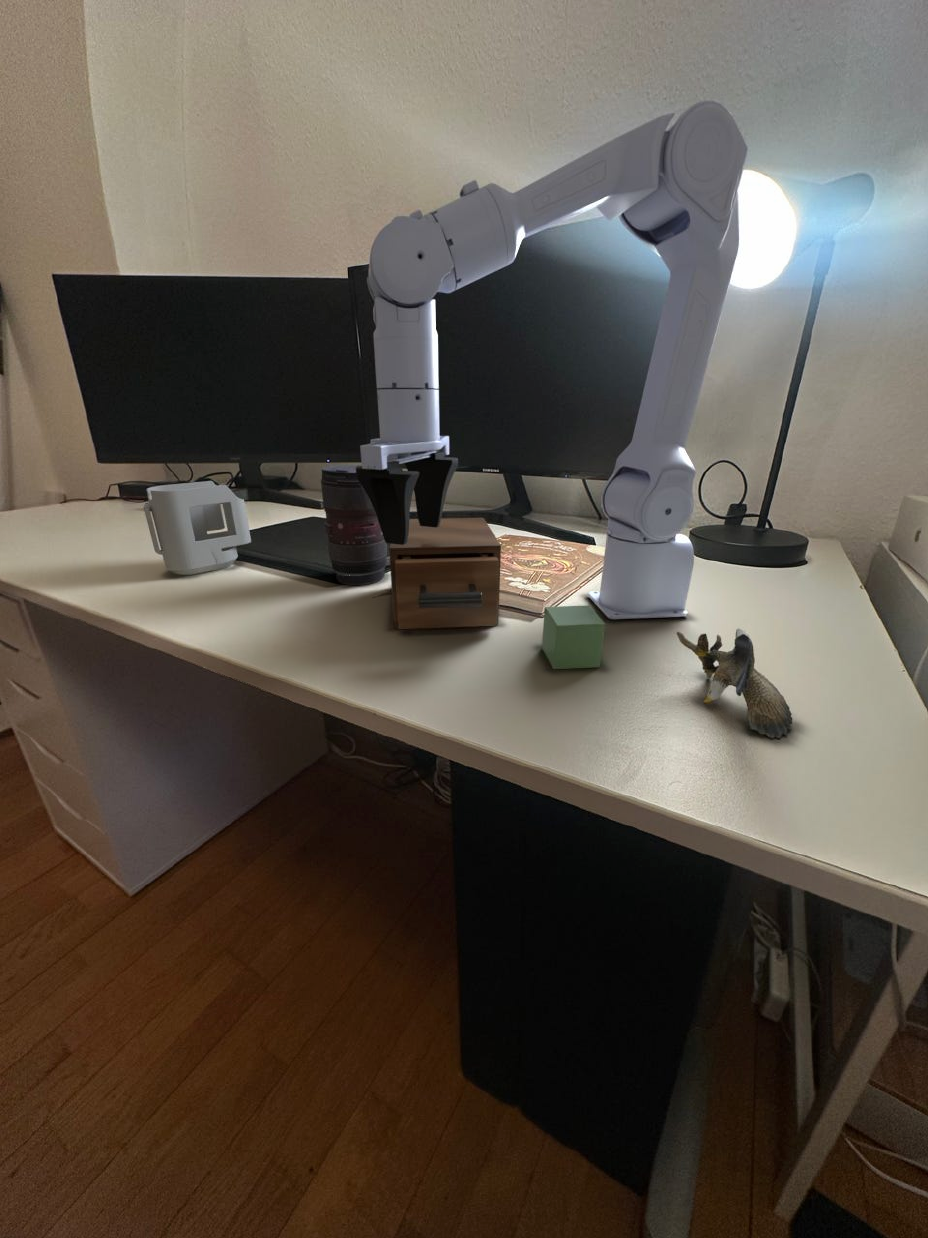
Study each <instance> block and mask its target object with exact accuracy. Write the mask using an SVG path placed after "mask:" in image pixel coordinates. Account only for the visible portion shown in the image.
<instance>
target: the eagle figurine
mask: <svg viewBox="0 0 928 1238" xmlns="http://www.w3.org/2000/svg"><path fill="white" fill-rule="evenodd" d="M676 635H677V638H678V640H679V642H680V643H681V644H682V645H683V646H684V647H686V648H687V649H689V650H691V651H692V652H693V653H694V654H695V655H696V656H697V658H698V659H699V661H700V662H701V665H702V670H703V671H704V672H703V673H704V674H705V675H706V678H708V679H711V678H712V681H711V684H710V686H709V689H708V693H707V696H706V698H705V699H703V703H705V704H709V703H710V702H711V701H714V700H717V699H719V698H720V697H721V696H722V694H723V693H724V691H725V689H727V688H728V687H729V686H732V687H735V693H736V695H737V696H738V697H742V695H743V698H744V700H745V703H746V706H747V717H748V718H747V719H748V724H749V728H750V729H751V730H755V731H757V733H758V734H759V735H766V736H767V737H769V738H770V739H774V738H777V739H780V738H782V736H783V735H787V734H788V730H791V728H792V727H791V725H793V717H792V716H793V714H792V712H791V710H790V706H789V705H788V704H787V701H786V699H785V697H784V696H783V695H782V693H781V692H780V691H779V690H778V688H777V687H776V686H775V685H774V684H773V683H772V682H771V681H770V680H769V679H768V678H766V677H765V675H764V674H762V673H761V672H759V671H758V670H757V669H756V668H755V664H756V663H755V652H754V651H755V649H754V645H753V641H752V638H750V635H749V634H748V633H747V631H745V630H744V629H742V628H740V627H738V628H736V630H735V638H734V646H733V649H732V650H729V651H724V650H720V649H721V648H722V647H723V642H722V637H721V635H719V634H717V635H716V640H715V643H714V644H712V646H711V647H710V645H709V639H708V635H707V633H701V634H700V635H699V636H698V638H697V643H696V644H695V643H693V642H692V641H690V640H689V639H688V638H687V637H685V635H684V634H683V633H682V632H681V631H676ZM709 647H710V648H709ZM716 662H717V663H718V665H716V666H715V664H714V663H716Z"/></svg>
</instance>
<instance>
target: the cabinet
mask: <svg viewBox="0 0 928 1238" xmlns="http://www.w3.org/2000/svg"><path fill="white" fill-rule="evenodd" d="M388 550H389V569H390V584H391V600H392V616H393V618H392V619H393V628H394V629H399V626H398V608H397V591H396V573H395V560H398V559H403V555H428V554H468V553H487V554H488V557H497V559H498V592H497V623H496V626H498V625H499V621H500V620H499V619H500V618H499V617H500V591H501V590H500V589H501V560H502V559H501V557H502V545H501V544H500V541H499V540H498V538H497V536H496V535H495V533H494V532H493V530H492V528H491V527H490V525H489V524H488V522H487V521H486V519H485V517H448V518H447V517H445V518H443V517H441V521H440V524H439V527H437V528H436V527H426V526H420V524H419V520H418V518H409V534H408V539H407V543H406V544H404V545H399V544H391V543H389V548H388Z"/></svg>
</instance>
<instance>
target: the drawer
mask: <svg viewBox="0 0 928 1238" xmlns="http://www.w3.org/2000/svg"><path fill="white" fill-rule="evenodd" d="M395 573H396V591H397V608H398V626H399V628H398V630H415V629H416V630H417V629H442V628H465V627H467V628H469V627H492V626H493V627H494V626H497V625H496V623H497V592H498V559H497V557H488V554H487V553H468V554H428V555H403V559H398V560H395Z"/></svg>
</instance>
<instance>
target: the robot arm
mask: <svg viewBox="0 0 928 1238" xmlns="http://www.w3.org/2000/svg"><path fill="white" fill-rule="evenodd" d="M675 115H676V112H671V113H667V114H663V115H660V116H658V117H655V118H654V119H652V120H650V121H648V122H644V123H643V124H641V125H639V126H637V127H635V128H633V129H631V130H628V131H627V132H625V133H623V134H621V135H619V136H617V137H614V138H613V139H611V140H609V141H607V142H605V143H603V144H602V145H600V146H598V147H596V148H593V150H591V151H589V152H587V153H585V154H583V155H581V156H579V157H578V158H576V159H574V160H572V161H570V162H568V163H567V164H565V165H563V166H561V167H559V168H557V169H556V170H553V171H552V172H550V173H548V174H546V175H544V176H542V177H540V178H539V179H537V180H535V181H533V182H532V183H529V184H527V185H526V186H524V187H522V188H520V189H518V190H517V191H515V192H511V191H509V190H507V189H506V188H504V187H502V186H500V185H499V184H496V183H494V182H490V183H488V184H485V185H483V186H482V187H479V185H478V180H476V179H474V180H471V181H469V182H467V183H465V184H464V185H463V186H462V187H461V189H460V190H459V198H457V199H454V200H453V201H450V202H448V203H446V204H444V205H442V206H440V207H438V208H435V209H434V210H432V211H430V212H427V213H424V214H423V212H422V210H421V209H417V210H415V211H413V212H410V214H409V216H408V215H397V216H394V217H393V219H392V220H391V221H390V222H389V223H388V224H386V225H385V226H384V227H382V228H381V229H380V230H379V232H378V233H377V235H376V236H375V238H374V239H373V242H372V245H371V249H370V253H369V263H368V276H367V277H366V282H367V288H368V291H369V293H370V296H371V298H372V300H373V301H374V304H373V308H372V317H373V318H372V319H373V322H374V324H375V329H374V331H373V337H372V338H373V350H374V366H375V383H376V396H377V410H378V412H377V413H378V427H379V428H378V429H379V438H373V439H372V438H371V439H370V443H367V444H361V445H359V447H360V449H359V450H360V461H361V465H362V467H357V468H356V478H357V480H358V481H359V482H360V484H361V485H362V487H363V488H364V490H365V491H366V493H367V495H368V497H369V499H370V501H371V503H372V505H373V507H374V510H375V513H376V515H377V518H378V521H379V524H380V528H381V531H382V534H383V537H384V540H385V543H387V544H390V543H391V544H399V545H404V544H406V543H407V539H408V534H409V519H411V518H410V513H411V505H412V500H413V494H414V500H415V507H416V516H417V519H418V520H419V524H420V526H426V527H436V528H437V527H439V524H440V521H441V518H442V516H443V510H444V506H445V501H446V497H447V493H448V489H449V486H450V484H451V481H452V479H453V476H454V475H455V472H456V470H457V468H458V467H459V458H458V457H451V456H449V457H447V456H448V455H450V436H449V435H440V385H439V334H438V331H437V329H436V327H437V324H436V321H437V320H436V299H434V297H435V295H436V294H437V293H443V294H452V293H453V292H455V291H457V290H459V289H461V288H463V287H465V286H467V285H470V284H471V283H474V282H476V281H478V280H480V279H482V278H484V277H486V276H488V275H491V274H493V273H494V272H497V271H498V270H500V269H503V268H505V267H507V266H509V265H511V264H512V263H514V261H515V259H516V257H517V254H518V251H519V249H520V245H521V244H522V241H523V239H525V238H528V237H530V236H532V235H535V234H537V233H539V232H542V231H544V230H546V229H548V228H551V227H553V226H556V225H558V224H561V223H562V222H566V221H567V220H570V219H573V218H574V217H576V216H579V215H581V214H583V213H587V212H588V211H590V210H593V209H597V210H598V211H599V212H600V213H601V214H602V215H603V216H604V217H605V218H606V220H608V221H614V220H615V219H617V218H618V219H619V221H620V223H621V224H622V226H624V228H625V229H626V230H627V231H628V232H630V234H632V235H633V236H634V237H635V238H636V239H637V240H639V241H640V242H641V243H643V244H644V245H645V246H646V247H647V248H648V249H650V250H651V251H652V252H654V254H656V255H657V256H658V257H660V258H661V260H662V261H663V263H664V264H665V266H666V267H667V270H668V272H669V273H670V276H669V280H668V284H667V288H666V292H665V296H664V297H665V298H664V302H663V306H662V309H661V310H662V311H661V315H660V319H659V323H658V328H657V332H656V337H655V341H654V344H653V349H652V353H651V354H652V355H651V358H650V360H649V361H650V362H649V366H648V370H647V375H646V379H645V383H644V387H643V392H642V395H641V400H640V405H639V408H638V414H637V418H636V422H635V426H634V430H633V435H632V438H631V442H630V443H629V444H628V446H626V447H625V449H624V450H623V451H622V452H621V453H620V454H619V455H618V457H617V458H616V460H615V461H616V462H615V465H614V469H613V471H612V473H611V476H610V477H609V478H608V479H607V481H606V482H605V484H604V486H603V488H602V490H601V494H600V506H601V510H602V512H603V514H604V515H605V517H606V518H607V530H606V532H607V533H606V539H605V547H604V555H603V556H604V557H603V564H602V570H601V571H602V572H601V580H600V587H599V588H600V589H599V590H597V591H593V590H592V591H588V592H587V596H588V598H589V599H590V600H591V601H592V602H593V603H594V605H596V606H597V607H598V609H600V611H601V613H603V614H604V615H605V616H606V618H608V619H609V620H628V619H629V620H630V619H654V618H656V619H657V618H681V617H683V618H684V617H688V614H689V613H688V611H687V610H686V605H687V601H688V595H689V590H690V586H691V581H692V575H693V571H694V564H695V552H694V551H695V550H694V546H693V544H692V541H691V540H690V538H689V537H687V536H686V535H685V534H681V532H682V531H683V530H684V529H685V528H686V527H687V525H689V522H690V520H691V518H692V516H693V512H694V507H695V501H694V493H693V486H694V480H695V477H696V473H697V472H696V468H695V466H694V464H693V462H692V461H691V459H690V457H689V455H688V453H687V451H686V445H687V441H688V438H689V434H690V431H691V426H692V424H693V423H692V422H693V419H694V417H695V413H696V408H697V406H698V405H697V404H698V401H699V397H700V394H701V390H702V388H703V387H702V385H703V383H704V379H705V375H706V371H707V368H708V365H709V362H710V361H709V360H710V357H711V354H712V351H713V346H714V343H715V339H716V335H717V332H718V328H719V324H720V320H721V316H722V314H723V309H724V307H725V304H726V303H725V302H726V298H727V296H728V292H729V288H730V284H731V281H732V277H733V274H734V270H735V266H736V262H737V259H738V254H739V250H740V243H741V242H740V241H741V239H740V209H739V187H740V184H741V181H742V177H743V172H744V168H745V164H746V161H747V157H748V153H749V147H748V145H747V143H746V141H745V139H744V137H743V135H742V133H741V131H740V128H739V126H738V125H737V123H736V120H735V118H734V116H733V115H732V113H731V112H730V111H729V109H728V108H727V107H726V106H724V104H722V103H720V102H718V101H715V100H701V101H698V102H696V103H694V104H692V105H690V106H689V107H688V108H686V110H685V111H684V112H682V113H681V114H680V115H679V116H678V118H677V120H676V121H675V122H674V123H673V124H672V125H671V126H670V127H668V126H669V124H670V122H671V120H672V119H673V118H674V117H675ZM401 464H404V466H405V468H406V470H404V468H403V467H401V466H400V465H401Z"/></svg>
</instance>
